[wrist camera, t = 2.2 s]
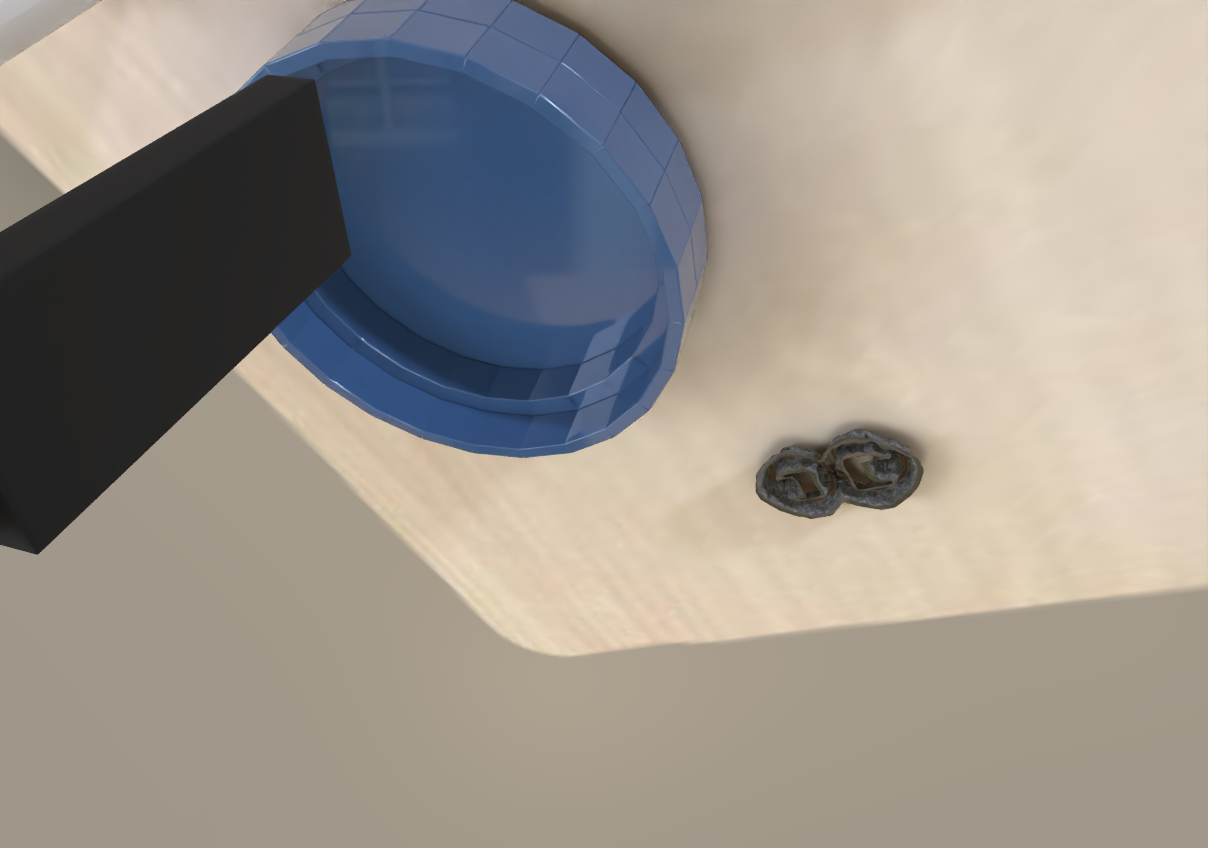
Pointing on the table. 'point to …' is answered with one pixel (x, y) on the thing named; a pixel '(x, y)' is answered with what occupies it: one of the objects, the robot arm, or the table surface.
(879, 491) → the corroded twin loop
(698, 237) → the bowl
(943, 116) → the table surface
